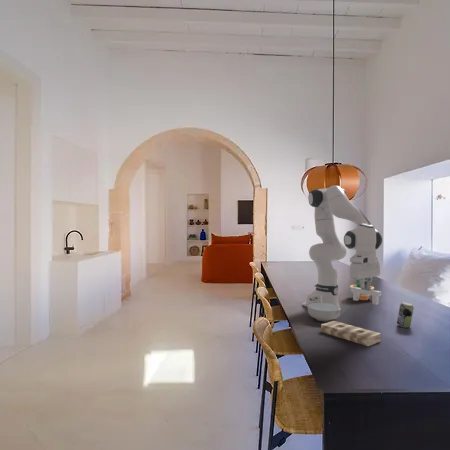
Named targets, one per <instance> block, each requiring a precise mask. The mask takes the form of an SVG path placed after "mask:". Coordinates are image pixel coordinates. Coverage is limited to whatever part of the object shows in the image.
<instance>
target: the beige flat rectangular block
mask: <svg viewBox="0 0 450 450" xmlns="http://www.w3.org/2000/svg"><path fill="white" fill-rule="evenodd" d="M320 332H321V333H324V334H327V335H330V336H333V337H336V338H340V339H344V340H347V341H349V342H353V343H356V344H358V345H363V346H366V347H370V346H373V345H376V344H378V343H380V342H382V333H381V332H376V331H374V330H369V329H365V328H362V327H360V326H355V325H350V324H349V323H348V324H347V323H344V322H339V321H336V320H331V321H329V322H324V323H321V325H320Z"/></svg>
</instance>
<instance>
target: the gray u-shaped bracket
mask: <svg viewBox="0 0 450 450" xmlns="http://www.w3.org/2000/svg"><path fill="white" fill-rule="evenodd" d="M364 283H365V284H366V287H365V288H358V287H351V288H350V292H351V293H352V301H357V302H358V301H359V293H361V294H367V295H370V296H372V297H371V299H372V305H375V306H376V305H377V306H378V305H379V304H380V297H381V296H382V294H383V293H382V291H380V290H375V289H374V290H370V284H371V285H372V281H366V280H365V281H364Z"/></svg>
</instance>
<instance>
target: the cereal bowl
mask: <svg viewBox="0 0 450 450" xmlns="http://www.w3.org/2000/svg"><path fill="white" fill-rule="evenodd" d="M341 311H342V309H341V307H340V305H339V306H336V305H333V304H327V303H312V304H309V305H308V307H307V312H308V315H309V316H311V318H314V319H316V321H319V322H324V323H328V322H331V321H335V320H336V319H338V318H339V317H340V315H341Z"/></svg>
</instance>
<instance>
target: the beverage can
mask: <svg viewBox="0 0 450 450" xmlns="http://www.w3.org/2000/svg"><path fill="white" fill-rule="evenodd" d="M414 308H415V307H414V305H413V304H412V303H410V302H407V301H401V303H400V304H399V309H398V315H397V321H396V323H397V325H398V326H399V327H401V328H404V329H405V328H410V327H411V326H412V324H411V323H412V319H413V313H414Z"/></svg>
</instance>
